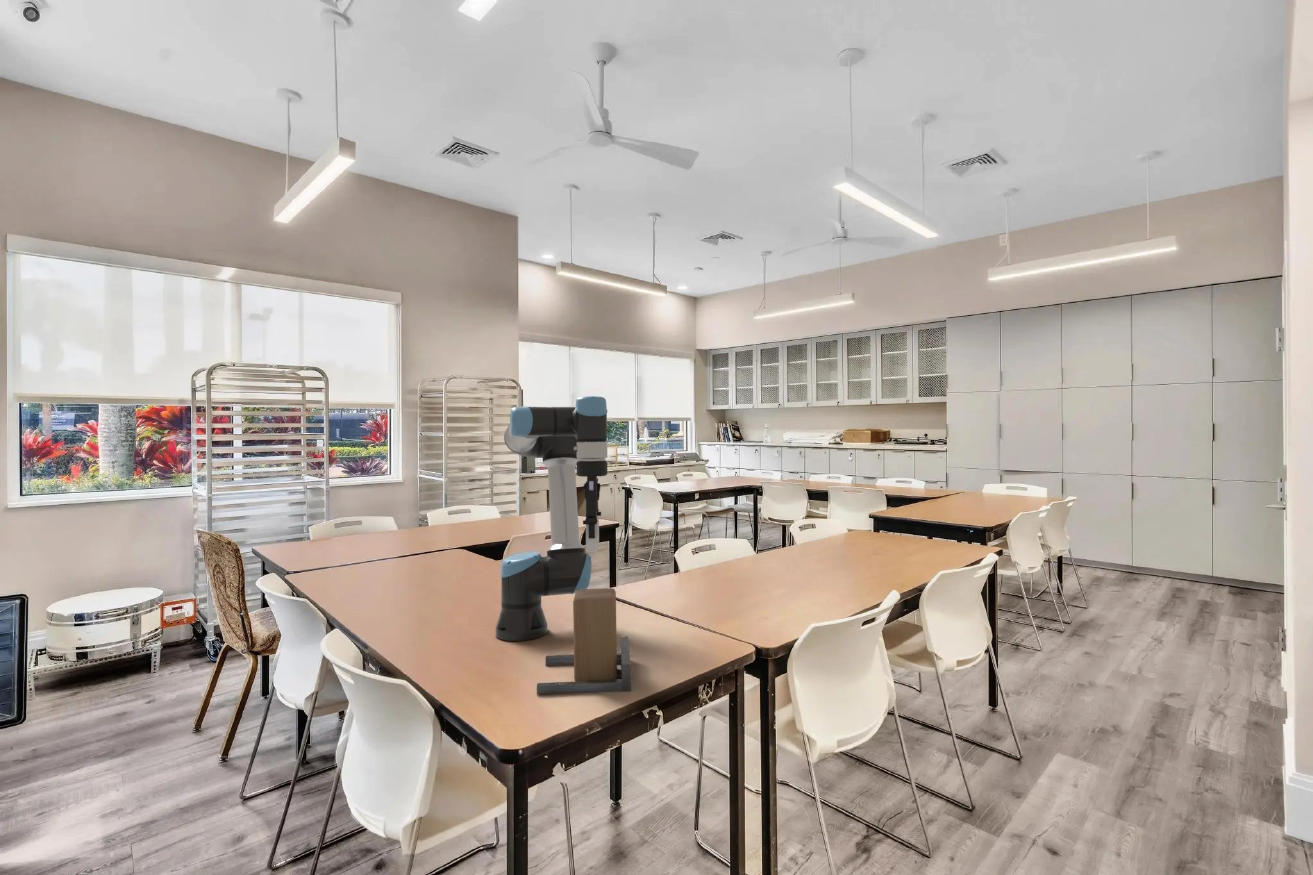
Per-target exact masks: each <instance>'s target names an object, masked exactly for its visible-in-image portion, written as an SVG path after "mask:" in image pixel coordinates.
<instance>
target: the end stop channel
mask: <svg viewBox="0 0 1313 875" xmlns="http://www.w3.org/2000/svg"><path fill="white" fill-rule="evenodd" d="M619 640H620V652H617V664H620V671H621V672H620V675H621V676H620V677H621V679H616V680H598V681H575V680H574V681H555V682H537V684H536V696H542V695H543V696H544V695H563V694H565V695H566V694H585V693H586V694H588V693H607V692H632V681H631V679H632V676H631V674H632V673H631V672H632V671H631V670H632V668H631V652H630V643H629V642H630V641H629V640H630V639H629V636H620V639H619ZM571 665H573V666H574V654H555V655H545V666H547V667H548V666H550V667H551V666H553V667H554V666H571Z"/></svg>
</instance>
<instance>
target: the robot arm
mask: <svg viewBox="0 0 1313 875" xmlns="http://www.w3.org/2000/svg"><path fill="white" fill-rule="evenodd" d="M607 414H608V407H607V400H606V398H605V397H604V396H603V397H602V396H597V395H596V396H595V395H594V396H592V395H589V396H579V397H577V398H576V400H575V406H526V405H523V406H515V407H514V406H513V407H512V408H511V409H510V414H509V425H508V426H507V428H506V429H505V431H504V434H503V435H504V436H503V441H504V444H505V445H506V447H507V448H508V450H510V451H511V452H512V453H515V454H516V455H519V456H521V457H525V458H532V459H534V458H535V459H536V458H540V459H541V458H542V464H543V465H544V467H546V469H547V477H548V498H549V500H548V501H549V518H550V521H549V522H550V539H551V541H550V542H551V543H550V546H549V547H548V548H547V549H546V556H542V554H541V553H540V551H539V552H538V551H527V552H521V553H517V554H513V555H511V556H508V557H506V558H504V559H503V560H502V562H501V565H500V567H501V568H500V578H501V579H500V580H501V581H500V583H501V584H500V585H501V586H500V588H501V590H500V592H501V593H500V594H501V600H500V601H501V602H500V604H501V608H500V612H499V616H498V619H497V621H496V624H495V637H496V638H497V639H499V640H502V641H508V642H509V641H510V642H519V641H521V642H523V641H530V640H534V639H538V638H541V637H544V636H545V635H546V634H548V631H549V630H548V629H549V628H548V626H549V625H548V622H547V619H546V616H545V612H544V610H543V607H542V597H549V596H561V595H575V593H576V591H577V590H579V589H589V586H590V582H591V578H592V577H591V576H592V565H593V564H592V556H591V554H590V553H598V552H599V548H598V547H599V543H600V521H599V520H600V519H599V518H600V517H601V516H602V511H600V509H599V501H600V497H601V496H600V493H601V482H599V478H598V477H605V476H607V475H608V461H607V460H606V459H608V431H607V430H608V417H607V416H608V415H607ZM576 477H582V478H583V477H586V481H585V483H583V492H584V500H585V520H582V525H585V546H584V545H583V544H582V543H581V542H580V529H579V526H580V525H579V514H578V513H579V511H578V509H579V508H578V494H577V480H576V479H577V478H576ZM598 482H599V483H598Z"/></svg>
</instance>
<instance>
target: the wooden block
mask: <svg viewBox="0 0 1313 875" xmlns="http://www.w3.org/2000/svg"><path fill="white" fill-rule="evenodd" d="M616 593H617V591H616V590H615V589H614V588H613V587H612V588H611V587H609V588H608V587H606V588H605V587H604V588H587V589H579V590H577V591H576V593H574V597H573V601H572V603H573V604H572V608H573V609H572V612H573V615H572V616H573V620H572V621H573V622H572V624H573V655H574V665H573V673H574V674H573V678H574V682H575V681H598V680H618V663H617V653H618V648H617V645H618V643H617V641H618V640H617V594H616Z"/></svg>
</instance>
